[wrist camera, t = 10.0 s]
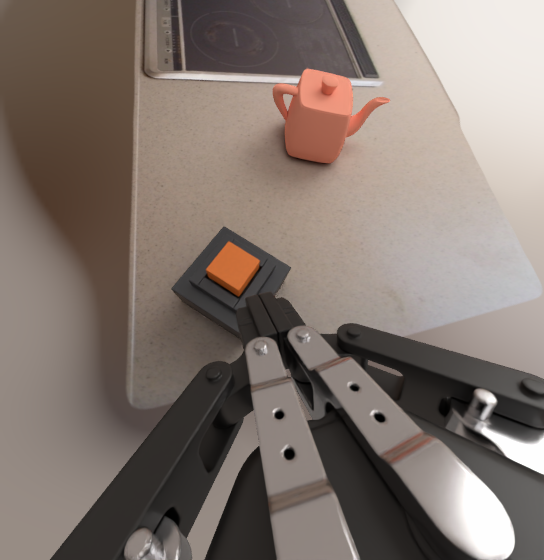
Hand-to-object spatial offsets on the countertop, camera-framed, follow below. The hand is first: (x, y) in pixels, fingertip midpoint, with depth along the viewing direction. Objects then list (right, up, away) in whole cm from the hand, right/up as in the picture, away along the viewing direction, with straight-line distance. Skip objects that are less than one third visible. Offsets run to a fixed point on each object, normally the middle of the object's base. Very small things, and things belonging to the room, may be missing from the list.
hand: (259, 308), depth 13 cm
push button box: (-4, 0, +19) cm, 20 cm away
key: (-3, +2, +13) cm, 14 cm away
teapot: (+9, +27, +31) cm, 42 cm away
